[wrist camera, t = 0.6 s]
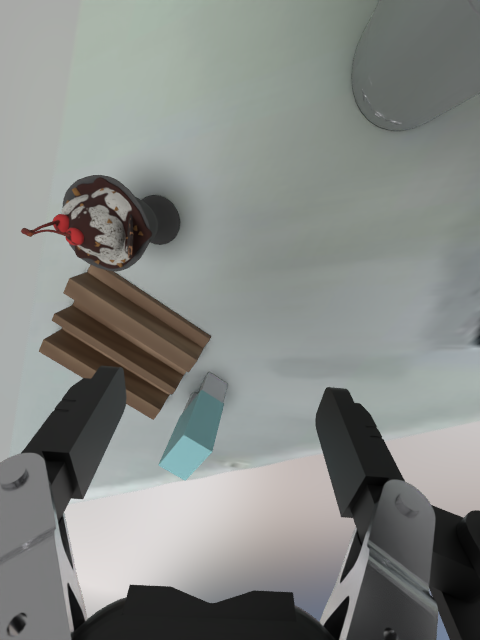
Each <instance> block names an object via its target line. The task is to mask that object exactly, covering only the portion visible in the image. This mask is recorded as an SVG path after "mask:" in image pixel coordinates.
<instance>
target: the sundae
mask: <svg viewBox="0 0 480 640" xmlns="http://www.w3.org/2000/svg"><path fill="white" fill-rule="evenodd" d="M50 225H53V226H54V228H55V229H56V231H55V230H40V231H37V230H39V229H41V228H43V227H47V226H50ZM179 226H180V219H179V215H178V212H177V210H176V208H175V207H174V205H173V204H172V203H171V202H170V201H169V200H167V199H166V198H164V197H162V196H157V195H152V196H148V197H145V198H144V199H143V200H142V201H141V200H140V199H138V198H136V197H134V195H133V194H132V193H131V192H130V190H129V189H128V188H126V187H125V186H124V185H123V184H122V183H120V182H119V181H117V180H116V179H114V178H111V177H108V176H103V175H93V176H88V177H85V178H82V179H79V180H77V181H76V182H75V183H74V184H72V185H71V186H70V188H69V189H68V190H67V192H66V194H65V197H64V201H63V209H62V212H61V214H58V215H57V216H56V217H54V219H53V222H50V223H47V224H44V225H42V226H39V227H37V228H36V229H34V230H28V229H26V228H23V229H22V230H21V232H22V233H23V234H26V235H27V236H30V237H31V236H32V235H34V234H37V233H40V232H55V233H58V234H61V235H64V236H66V240H67V241H68V242H69V244H70V246H71V247H72V248H73V250H74V251H75V253H76V255H77V256H78V257H79V258H81V259H83V260H84V261H86V262H87V263H89V264H91V265H93V266H95V267H97V268H100V269H104V270H108V271H121V270H124V269H127V268H129V267H130V266H132V265H133V264H135V263H136V262H137V261H138V260H139V259H140V258H141V256H142V255H143V253H144V252H145V250H146V248H147V246H148V244H149V243H150V242H151V243H154V244H159V245H161V244H166V243H169V242H170V241H172V240H173V239H174V238H175V237H176V235H177V233H178V231H179ZM35 231H36V232H35Z"/></svg>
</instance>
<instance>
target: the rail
mask: <svg viewBox="0 0 480 640" xmlns="http://www.w3.org/2000/svg"><path fill="white" fill-rule="evenodd" d="M64 294H66V295H67V296H69V297H70V298H72V299H74V300H75V301H74V303H73V305H72V306H70V307H68V308H66V309H63V310H61V311H59V312H57V313H55V314H54V316H53V319H52V321H53V322H55V323H57V324H58V325H60V326H61V327H62V329H61V330H59V331H58V332H56V333H54V334H52V335H51V336H49V337H47V338H45V339H44V340H43V342H42V345H41V347H40V349H39V352H41V353H42V354H44V355H46V356H47V357H49V358H51V359H52V360H54V361H56V362H57V363H59V364H61V365H62V366H64V367H66V368H67V369H69V370H71V371H72V372H74V373H76V374H77V375H79V376H81V377H82V378H90V379H91V378H92V377H93V375H94V374H95V372H96V371H97V369H98V368H99V367H100V366H112V367H122V368H123V370H124V378H125V387H126V396H127V399H126V404H128V405H129V406H131V407H133V408H134V409H136V410H138V411H139V412H141V413H143V414H144V415H146V416H148V417H149V418H151V419H153V420H154V418H155V417H156V416H157V414H158V413H159V412H160V410H161V409H162V407H163V405H164V403H165V401H166V400H167V398H168V396H169V394H173V393H174V391H175V390H176V388H177V386H178V385H179V383H180V381H181V379H182V377H183V375H184V374H185V373H186V371H187V372H189V371H190V370H191V368H192V367H193V366H194V364H195V363H196V362H197V360H198V358H199V356H200V354H201V352H202V350H203V348H204V347H205V345H206V344H207V343H208V341H209V340H210V338H211V336H210V335H208V334H207V333H205V332H204V331H202V330H201V329H199V328H198V327H196V326H195V325H193V324H192V323H190V322H189V321H187V320H186V319H184V318H183V317H181V316H179V315H178V314H176V313H175V312H173V311H172V310H170V309H169V308H167V307H166V306H164V305H163V304H161V303H160V302H158V301H157V300H155V299H154V298H152V297H151V296H149V295H148V294H146V293H145V292H143V291H142V290H140V289H139V288H137V287H136V286H134V285H133V284H131V283H130V282H128V281H127V280H125V279H124V278H122V277H121V276H119V275H118V274H116V273H115V272H113V271H108V270H104V269H100V268H97V267H95V266H93V265H90V267H89V269H88V272H86V273H83V274H80V275H78V276H75V277H72V278H69V281H68V283H67V285H66V288H65V290H64Z"/></svg>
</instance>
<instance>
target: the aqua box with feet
mask: <svg viewBox="0 0 480 640" xmlns="http://www.w3.org/2000/svg"><path fill="white" fill-rule="evenodd" d="M227 386H228V384H227V383H226V382H224V381H223V380H221V379H219V378H218V377H216V376H215V375H213V374H212V373H210V372H209V373H208V374H207V375H206V376H205V378H204V381H203V383H202V386H201V388H200V391H199V393H198V394H197V393H195V392H193V393H192V394H191V396H190V397H189V400H188V402H187V404H186V407H185V409H184V411H183V413H182V415H181V416H180V418H179V420H178V422H177V425H176V427H175V429H174V431H173V434H172V436H171V438H170V440H169V443H168V445H167V447H166V449H165V451H164V454H163V456H162V458H161V460H160V463H159V466H160V467H162V468H164V469H166V470H167V471H169V472H171V473H173V474H174V475H176V476H178V477H180V478H181V479H183V480H186V479H187V478H188V477H189V476H190V475H191V474H192V473H193V472H194V471H195V470H196V469H197V468H198V467H199V465H200V464H201V463H202V462H203V461H204V460H205V459H206V458H207V457H208V456H209V455H210V454H211V453H212V450H213V446H214V442H215V438H216V434H217V430H218V426H219V422H220V418H221V414H222V410H223V406H224V403H223V402H224V398H225V394H226V390H227Z"/></svg>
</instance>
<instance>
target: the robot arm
mask: <svg viewBox="0 0 480 640" xmlns="http://www.w3.org/2000/svg"><path fill="white" fill-rule="evenodd" d="M352 86H353V92H354V96H355V99H356V102H357V104H358V106H359V108H360V110H361V112H362V113H363V114H364V115H365V116H366V117H367V119H368V120H369V121H371V122H372V123H374V124H375V125H377V126H378V127H381V128H384V129H387V130H398V131H401V130H407V129H413V128H415V127H417V126H420V125H422V124H425V123H427V122H428V121H430V120H432V119H434V118H436V117H437V116H439V115H441V114H443V113H445V112H446V111H448V110H450V109H452V108H454V107H456V106H458V105H459V104H461V103H463V102H465V101H466V100H468V99H470V98H472V97H474V96H475V95H477V94H479V93H480V0H380V1H379V3H378V5H377V7H376V8H375V10H374V12H373V14H372V16H371V18H370V20H369V22H368V24H367V26H366V28H365V30H364V32H363V34H362V36H361V39H360V41H359V43H358V45H357V49H356V52H355V56H354V60H353V68H352ZM126 399H127V396H126V387H125V378H124V370H123V368H122V367H112V366H100V367H99V368H98V369H97V371H96V372H95V374H94V375H93V377H92V378H91V379H90V378H83V379H82V380H80V381H79V382H78V383H76V384H75V385H73V386H72V387H71V388H70V389H69V390H68V392H67V393H66V394H65V396H64V397H63V398H62V401H60V402H59V404H58V405H57V406H56V408H55V410H54V411H53V412H52V413H51V414H50V416H49V417H48V418H47V420H46V421H45V422H44V424H43V425H42V426H41V428H40V429H39V430H38V432H37V433H36V434H35V436H34V437H33V438H32V440H31V441H30V442H29V444H28V445H27V446H26V448H25V449H24V450H23V451H22V453H21V454H18V455H15V456H12V457H10V458H7V459H6V460H4V461H2V462H1V463H0V640H436V636H437V623H438V611H439V614H440V616H441V619H442V621H443V623H444V626H445V628H446V631H447V633H448V636H449V638H450V640H480V511H471V512H470V513H468V514H467V515H466V516H465V517H464V518H463V517H460V516H458V515H455V514H452V513H450V512H447V511H445V510H442V509H440V508H437V507H435V506H433V505H431V504H430V502H429V501H428V499H427V498H426V497H425V496H424V495H423V494H422V493H421V492H420V491H419V490H418V489H416V488H415V487H414V486H412V485H411V484H409V483H407V482H405V480H404V479H403V477H402V475H401V473H400V471H399V469H398V467H397V465H396V463H395V461H394V459H393V457H392V455H391V453H390V452H389V450H388V448H387V446H386V444H385V442H384V440H383V439H382V436H381V434H380V432H379V430H378V429H377V428H376V427H377V426H376V424H375V422H374V420H373V418H372V417H371V415H370V413H369V412H368V411H367V410H366V409H365V408H364V407H363V406H362V405H361V404H360V403H354V401H353V399H352V397H351V395H350V393H349V391H348V390H347V389H342V388H331V387H327V388H326V389H325V392H324V394H323V397H322V400H321V402H320V405H319V408H318V410H317V413H316V430H317V433H318V437H319V440H320V444H321V447H322V451H323V454H324V458H325V461H326V465H327V468H328V472H329V475H330V479H331V482H332V486H333V489H334V493H335V496H336V500H337V504H338V507H339V510H340V514H341V517H349V518H353V519H354V522H355V525H356V528H355V530H354V532H353V535H352V538H351V541H350V544H349V547H348V550H347V552H346V556H345V558H344V561H343V564H342V567H341V570H340V573H339V576H338V579H337V582H336V585H335V587H334V590H333V592H332V594H331V596H330V598H329V600H328V603H327V604H326V607H325V609H324V612H323V614H322V617H321V620H320V622H319V621H317V620H316V619H315V618H314V617H312V616H311V615H310V614H309V613H307V612H306V611H304V610H302V609H300V608H299V607H297V606H295V605H294V598H293V593H292V592H272V591H271V592H270V591H251V592H248V593H245V594H242V595H239V596H236V597H233V598H230V599H226V600H223V601H220V602H217V603H208V602H205V601H203V600H201V599H198V598H196V597H194V596H191V595H189V594H187V593H184V592H182V591H180V590H177V589H175V588H173V587H166V586H144V585H130V586H129V590H128V594H127V597H126V598H123V599H120V600H117V601H115V602H113V603H111V604H109V605H107V606H106V607H104V608H102V609H101V610H99V611H97V612H96V613H95V614H94V615H92V616H91V617H90V618H88V619H87V614H86V609H85V605H84V600H83V596H82V592H81V588H80V585H79V582H78V578H77V574H76V569H75V564H74V559H73V554H72V549H71V544H70V539H69V534H68V529H67V524H66V519H65V514H64V511H65V509H66V507H67V505H68V503H69V501H70V499H71V498H73V499H83V498H84V496H85V494H86V492H87V490H88V487H89V485H90V483H91V481H92V479H93V477H94V475H95V472H96V470H97V468H98V466H99V464H100V462H101V460H102V457H103V455H104V453H105V451H106V449H107V447H108V444H109V442H110V440H111V438H112V436H113V434H114V432H115V429H116V427H117V425H118V423H119V421H120V419H121V417H122V414H123V412H124V409H125V406H126ZM429 589H430V591H431V593H432V596H433V597H432V596H431V595H430V594H429Z"/></svg>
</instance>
